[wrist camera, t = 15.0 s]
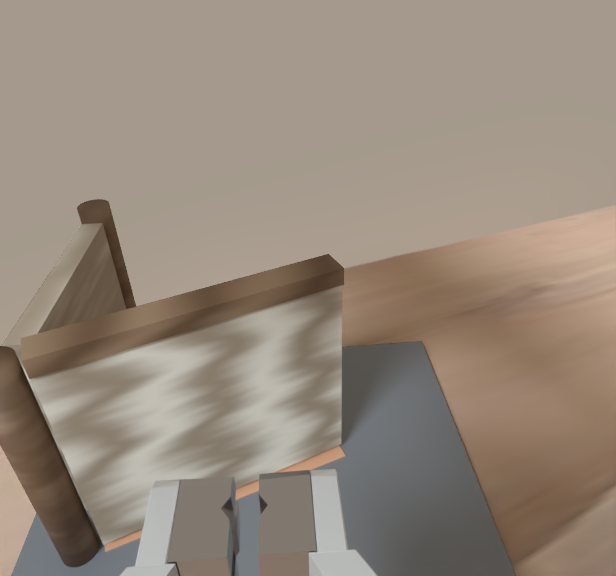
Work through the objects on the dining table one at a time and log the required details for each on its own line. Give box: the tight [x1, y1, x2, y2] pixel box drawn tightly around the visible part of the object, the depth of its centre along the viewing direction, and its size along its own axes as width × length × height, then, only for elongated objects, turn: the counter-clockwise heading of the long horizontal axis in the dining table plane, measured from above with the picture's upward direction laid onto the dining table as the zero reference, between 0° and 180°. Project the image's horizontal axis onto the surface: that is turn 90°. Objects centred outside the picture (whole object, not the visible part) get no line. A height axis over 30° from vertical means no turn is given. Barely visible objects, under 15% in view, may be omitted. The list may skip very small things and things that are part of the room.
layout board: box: [11, 341, 516, 576], centre depth 37 cm, size 32×34×1 cm
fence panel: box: [21, 254, 344, 545], centre depth 34 cm, size 18×2×16 cm, turn 116°
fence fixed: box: [0, 200, 136, 567], centre depth 38 cm, size 2×21×17 cm, turn 4°
